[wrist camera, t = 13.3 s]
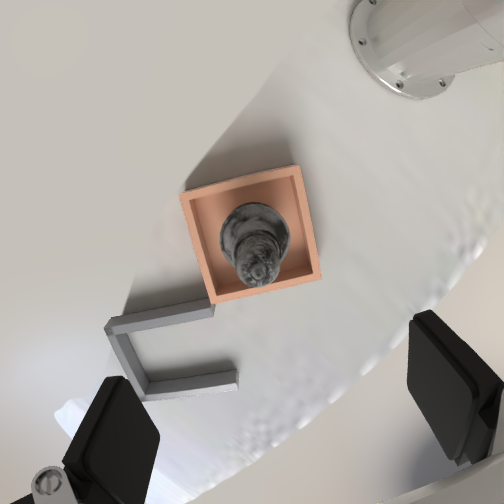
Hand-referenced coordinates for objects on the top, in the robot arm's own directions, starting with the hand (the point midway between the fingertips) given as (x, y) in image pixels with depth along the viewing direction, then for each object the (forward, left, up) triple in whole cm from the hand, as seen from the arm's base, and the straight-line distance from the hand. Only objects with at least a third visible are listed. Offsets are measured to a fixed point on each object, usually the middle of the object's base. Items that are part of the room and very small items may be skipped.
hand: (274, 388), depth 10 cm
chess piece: (0, 0, -22) cm, 22 cm away
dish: (0, 0, -22) cm, 22 cm away
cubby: (+11, +11, -22) cm, 27 cm away
